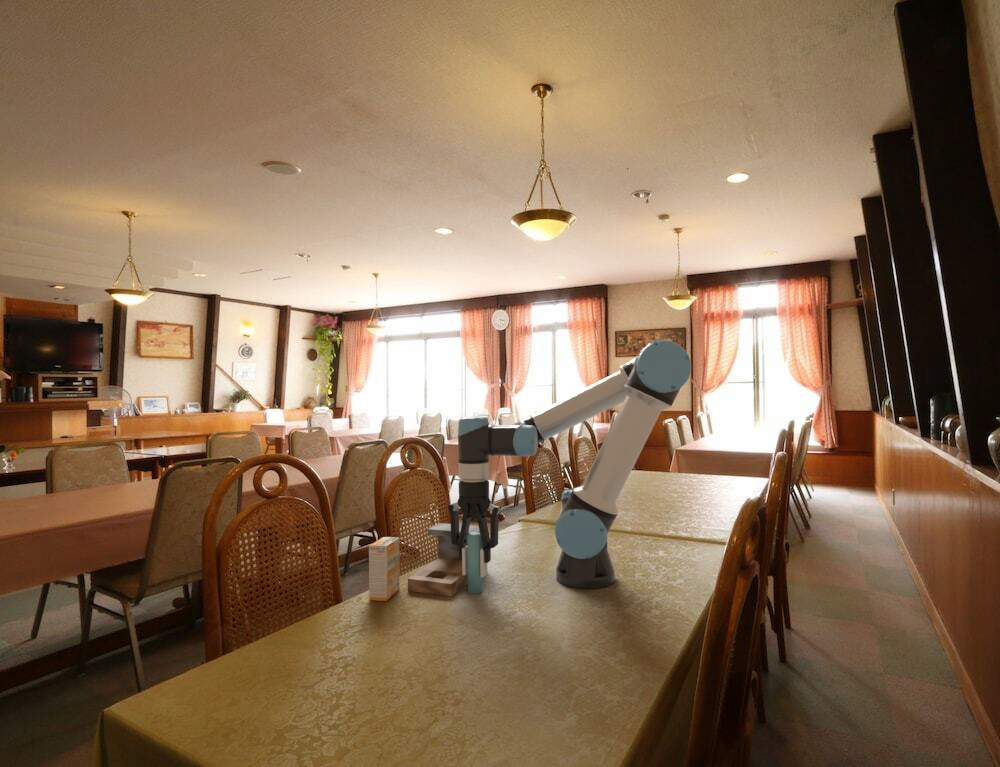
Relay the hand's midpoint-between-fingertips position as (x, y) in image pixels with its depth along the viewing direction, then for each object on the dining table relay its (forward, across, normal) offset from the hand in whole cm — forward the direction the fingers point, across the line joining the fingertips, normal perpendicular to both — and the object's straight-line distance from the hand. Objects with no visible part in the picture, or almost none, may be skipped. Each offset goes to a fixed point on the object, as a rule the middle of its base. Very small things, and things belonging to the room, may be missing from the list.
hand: (474, 574), depth 135 cm
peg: (+4, 0, 0) cm, 4 cm away
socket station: (+4, +10, -4) cm, 12 cm away
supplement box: (+4, +20, +9) cm, 22 cm away
